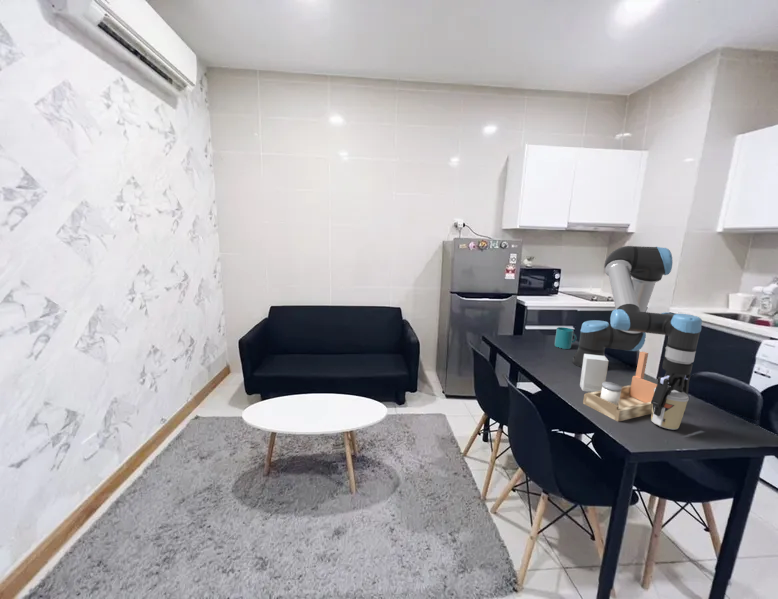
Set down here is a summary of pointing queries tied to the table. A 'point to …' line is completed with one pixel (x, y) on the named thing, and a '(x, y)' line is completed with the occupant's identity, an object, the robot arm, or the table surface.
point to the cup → (564, 338)
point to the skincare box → (593, 372)
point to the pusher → (642, 382)
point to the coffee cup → (673, 409)
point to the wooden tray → (626, 408)
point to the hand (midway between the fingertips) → (665, 420)
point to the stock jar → (611, 392)
